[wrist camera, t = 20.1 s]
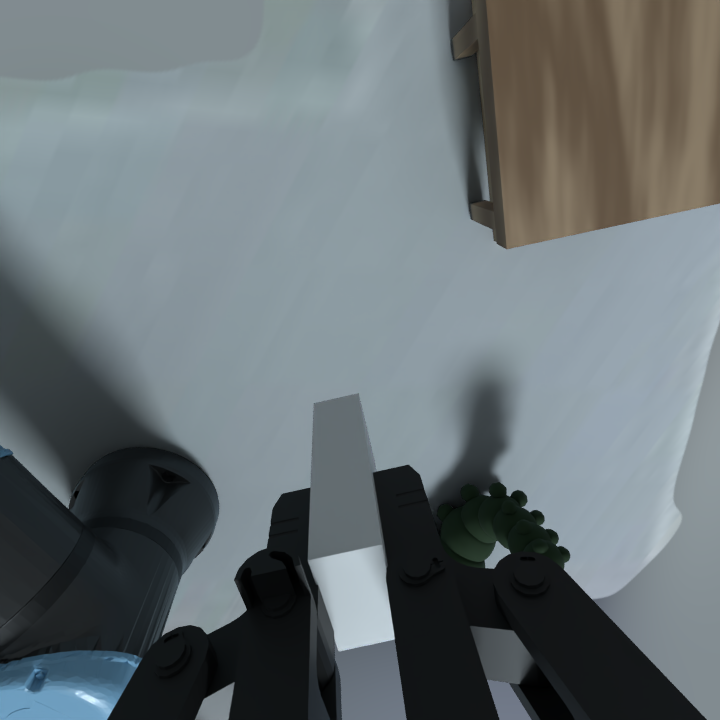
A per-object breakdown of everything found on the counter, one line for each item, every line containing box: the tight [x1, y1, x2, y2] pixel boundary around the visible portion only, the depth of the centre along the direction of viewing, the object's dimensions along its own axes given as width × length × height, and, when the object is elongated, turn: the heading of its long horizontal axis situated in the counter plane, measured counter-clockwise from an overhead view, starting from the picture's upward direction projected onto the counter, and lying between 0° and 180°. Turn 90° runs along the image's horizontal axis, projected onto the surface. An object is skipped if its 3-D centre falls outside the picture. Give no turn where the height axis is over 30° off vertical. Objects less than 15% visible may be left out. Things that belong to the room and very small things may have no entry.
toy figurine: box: [437, 482, 570, 569], centre depth 49 cm, size 9×19×25 cm
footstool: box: [451, 0, 720, 249], centre depth 35 cm, size 10×16×16 cm
